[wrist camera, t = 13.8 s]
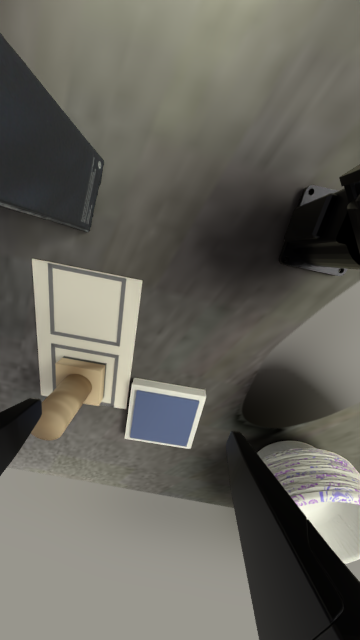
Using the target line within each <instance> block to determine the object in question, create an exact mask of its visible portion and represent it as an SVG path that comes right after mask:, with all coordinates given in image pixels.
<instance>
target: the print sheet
mask: <svg viewBox="0 0 360 640" xmlns="http://www.w3.org/2000/svg"><path fill="white" fill-rule="evenodd" d="M32 267H33V282H34V297H35V312H36V327H37V342H38V357H39V372H40V386H41V395H43V396H49V395H50V394H51V393H52V392H53V391H54V390H55V389H56V366H55V363H56V362H58V361H59V360H60V359H61V358H62V357H64V356H68V357H73V358H79V359H84V360H90V361H96V362H101V363H107V365H106V379H105V392H104V398H103V399H102V401H101V403H100V405H104V406H110V407H116V408H122V409H126V408H127V400H128V392H129V384H130V376H131V368H132V361H133V353H134V345H135V337H136V329H137V321H138V313H139V306H140V298H141V290H142V282H143V280H138V279H133V278H128V277H123V276H118V275H113V274H108V273H103V272H98V271H93V270H88V269H83V268H78V267H73V266H68V265H63V264H58V263H53V262H48V261H43V260H38V259H32Z"/></svg>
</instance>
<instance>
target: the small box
mask: <svg viewBox="0 0 360 640" xmlns="http://www.w3.org/2000/svg"><path fill="white" fill-rule="evenodd" d="M103 165H104V160H103V159H102V158H101V157H100V156H99V154H98V153H97V152H96V151H95V149H94V148H93V147H92V146H91V145H90V143H89V142H88V141H87V140H86V139H85V137H84V136H83V135H82V134H81V132H80V131H79V130H78V129H77V127H76V126H75V125H74V124H73V123H72V121H71V120H70V119H69V118H68V116H67V115H66V114H65V113H64V111H63V110H62V109H61V108H60V106H59V105H58V104H57V103H56V101H55V100H54V99H53V98H52V96H51V95H50V94H49V93H48V91H47V90H46V89H45V88H44V87H43V85H42V84H41V83H40V82H39V80H38V79H37V78H36V77H35V75H34V74H33V73H32V72H31V70H30V69H29V68H28V67H27V65H26V64H25V63H24V61H23V60H22V59H21V58H20V57H19V55H18V54H17V53H16V52H15V51H14V49H13V48H12V47H11V46H10V45H9V43H8V42H7V41H6V40H5V39H4V37H3V36H2V34H1V33H0V206H1V207H5V208H8V209H11V210H14V211H18V212H22V213H25V214H29V215H32V216H35V217H39V218H42V219H48V220H51V221H54V222H57V223H61V224H63V225H67V226H70V227H73V228H76V229H79V230H82V231H85V232H88V231H90V227H91V223H92V217H93V211H94V207H95V202H96V197H97V195H98V189H99V185H100V184H101V177H102V171H103Z"/></svg>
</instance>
